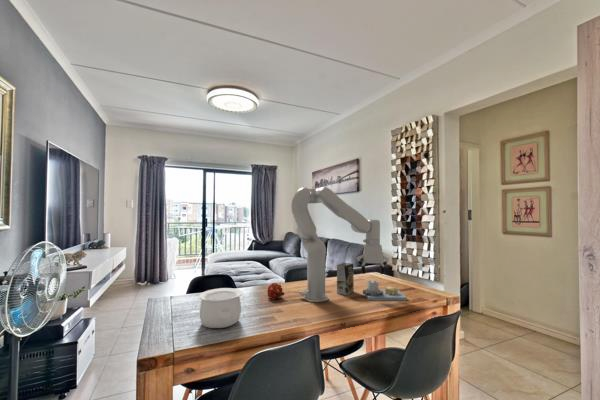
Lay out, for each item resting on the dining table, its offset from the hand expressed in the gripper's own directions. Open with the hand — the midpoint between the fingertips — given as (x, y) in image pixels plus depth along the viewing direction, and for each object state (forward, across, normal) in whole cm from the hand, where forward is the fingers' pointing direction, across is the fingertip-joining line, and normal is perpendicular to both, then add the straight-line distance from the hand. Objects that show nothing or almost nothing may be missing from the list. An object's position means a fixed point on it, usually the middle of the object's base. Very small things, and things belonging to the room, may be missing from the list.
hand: (372, 273), depth 154 cm
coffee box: (+13, -14, +7) cm, 20 cm away
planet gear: (+11, 0, 0) cm, 11 cm away
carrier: (+12, +6, 0) cm, 14 cm away
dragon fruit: (+14, -52, -4) cm, 55 cm away
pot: (+15, -72, -38) cm, 82 cm away
